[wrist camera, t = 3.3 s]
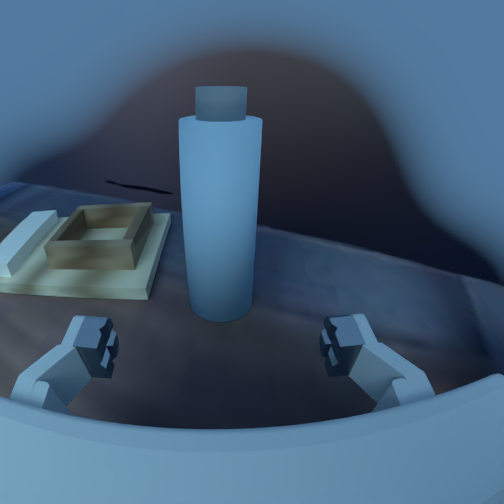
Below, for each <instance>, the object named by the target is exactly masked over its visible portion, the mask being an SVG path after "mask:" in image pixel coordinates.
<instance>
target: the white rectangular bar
mask: <svg viewBox="0 0 504 504" xmlns="http://www.w3.org/2000/svg"><path fill="white" fill-rule="evenodd" d="M57 222H58V217H57V213H56V210H52V211H39V212H32V213H31V214H30V215H29V216H28V217H27V218H26V219H25V220H24V221H23V222H22V223H21V224H20V225H19V226H18V227H17V228H16V229H15V230H14V231H13V232H12V233H11V234H10V235H9V236H8V237H7V238H6V239H5V240H4V241H3V242H2V243H1V244H0V277H12V276H13V275H14V273H15V272H16V271H17V270H18V268H19V267H20V266H21V264H22V263H23V262H24V261H25V259H26V258H27V257H28V256H29V254H30V253H31V252H32V251H33V249H34V248H35V247H36V246H37V245H38V244H39V242H40V241H41V240H42V239H43V238H44V237H45V235H46V234H47V233H48V232H49V231H50V230H51V229H52V227H53V226H54V225H55V224H56V223H57Z"/></svg>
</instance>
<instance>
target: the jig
mask: <svg viewBox="0 0 504 504" xmlns="http://www.w3.org/2000/svg"><path fill="white" fill-rule="evenodd" d="M23 221H24V220H23ZM23 221H22V222H23ZM22 222H21V223H22ZM21 223H20V224H21ZM20 224H19V225H20ZM170 224H171V216H170V213H156V214H153V210H152V203H151V202H149V203H148V202H146V203H121V204H101V205H84V206H79V207H78V208H77V209H76V210H75V211H74V212H73V213H72V214H71V215H70V216H69V217H60V218H58V222H57V223H56V224H55V225H54V226H53V227H52V229H51V230H50V231H49V232H48V233H47V234H46V235H45V237H44V238H43V239H42V240H41V241H40V242H39V244H38V245H37V246H36V247H35V248H34V249H33V251H32V252H31V253H30V254H29V256H28V257H27V258H26V259H25V261H24V262H23V263H22V264H21V266H20V267H19V268H18V270H17V271H16V272H15V273H14V275H13V276H12V277H0V292H4V293H16V294H30V295H44V296H60V297H79V298H103V299H135V300H148V299H149V295H150V291H151V287H152V284H153V280H154V277H155V273H156V270H157V266H158V263H159V259H160V256H161V253H162V249H163V246H164V243H165V240H166V236H167V233H168V230H169V227H170ZM19 225H18V226H19ZM18 226H17V227H18ZM17 227H16V228H17ZM16 228H15V229H16ZM15 229H13V230H12V231H11V233H12V232H13V231H14V230H15ZM11 233H10V234H11ZM10 234H9V235H10ZM9 235H8V236H9ZM8 236H7V237H8ZM7 237H6V238H7ZM6 238H5V239H6ZM5 239H4V240H5ZM4 240H3V241H4ZM3 241H2V242H3ZM2 242H1V243H2ZM1 243H0V244H1Z"/></svg>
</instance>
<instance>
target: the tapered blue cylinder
mask: <svg viewBox="0 0 504 504" xmlns="http://www.w3.org/2000/svg"><path fill="white" fill-rule="evenodd" d="M246 96H247V87H231V86H230V87H229V86H210V87H196V115H195V116H189V117H184V118H181V119H179V149H180V150H179V152H180V179H181V201H182V218H183V233H184V246H185V258H186V269H187V280H188V290H189V300H190V306H191V308H192V310H193V311H194V313H195V314H197V315H198V316H199V317H201V318H203V319H205V320H208V321H213V322H228V321H233V320H236V319H238V318H240V317H242V316H243V315H245V314H246V313H247V312H248V311H249V309H250V307H251V304H252V291H253V274H254V257H255V240H256V223H257V205H258V189H259V172H260V154H261V137H262V136H261V135H262V119H260V118H258V117H253V116H246V98H247V97H246Z"/></svg>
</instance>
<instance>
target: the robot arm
mask: <svg viewBox="0 0 504 504" xmlns="http://www.w3.org/2000/svg"><path fill="white" fill-rule="evenodd" d="M324 327H325V329H324V330H323V331H322V332H321V335H320V350H321V354H322V355H323V356H324V357H325V358H326V361H325V367H326V370H327V373H328V376H329V377H332V376H342V375H349V377H350V378H351V379H352V380H353V381H355V382H356V383H357V384H358V385H359V386H360V387H361V388H362V389H363V390H364V391H365V392H366V393H367V394H368V395H369V396H370V397H371V398H372V399H373V400H374V401H375V402H376V403H377V405H376V406H375V408H374V409H373V411H372V412H371V413H367V414H362V415H357V416H352V417H346V418H341V419H335V420H328V421H321V422H314V423H307V424H298V425H289V426H278V427H265V428H247V429H179V428H161V427H149V426H138V425H129V424H121V423H113V422H106V421H100V420H94V419H88V418H83V417H77V416H73V415H72V414H71V412H70V411H69V410H68V409H67V408H66V406H67V405H68V404H69V403H70V402H71V401H72V400H73V399H74V397H75V396H76V395H77V394H78V393H79V392H80V391H81V390H82V389H83V387H84V386H85V385H86V384H87V383H88V382H89V381H90V380H91V379H92V377H98V378H109V379H111V377H112V373H113V369H114V363H113V359H114V358H115V357H117V354H118V347H119V342H118V337H117V334H116V333H115V332H114V331H113V330H112V328H113V323H112V320H111V319H110V318H103V317H92V316H79V315H76V316H74V317H73V319H72V321H71V323H70V326H69V328H68V330H67V332H66V334H65V337H64V339H63V341H62V344H61V345H57V346H56V347H54V348H53V349H52V350H50V351H49V352H48V353H47V354H45V355H44V356H43V357H41V358H40V359H39V360H38V361H36V362H35V363H34V364H32V365H31V366H30V367H29V368H27V369H26V370H25V371H24V372H22V373H21V374H20V375H19V377H18V379H17V381H16V384H15V386H14V389H13V391H12V394H11V396H10V399H7V398H4V397H1V396H0V504H504V375H502V374H499V373H497V374H493V375H490V376H488V377H485V378H483V379H480V380H478V381H475V382H473V383H470V384H467V385H465V386H462V387H459V388H456V389H454V390H451V391H448V392H445V393H442V394H439V395H435V393H434V391H433V389H432V386H431V384H430V382H429V380H428V378H427V376H426V374H425V372H423V371H422V370H421V369H419V368H418V367H416V366H415V365H413V364H412V363H410V362H409V361H408V360H406V359H405V358H403V357H402V356H400V355H399V354H397V353H396V352H394V351H393V350H392V349H390V348H389V347H387V346H386V345H384V344H383V343H378V341H377V339H376V337H375V335H374V333H373V331H372V329H371V327H370V325H369V323H368V321H367V319H366V317H365V315H364V314H351V315H339V316H327V317H326V318H325V321H324Z"/></svg>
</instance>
